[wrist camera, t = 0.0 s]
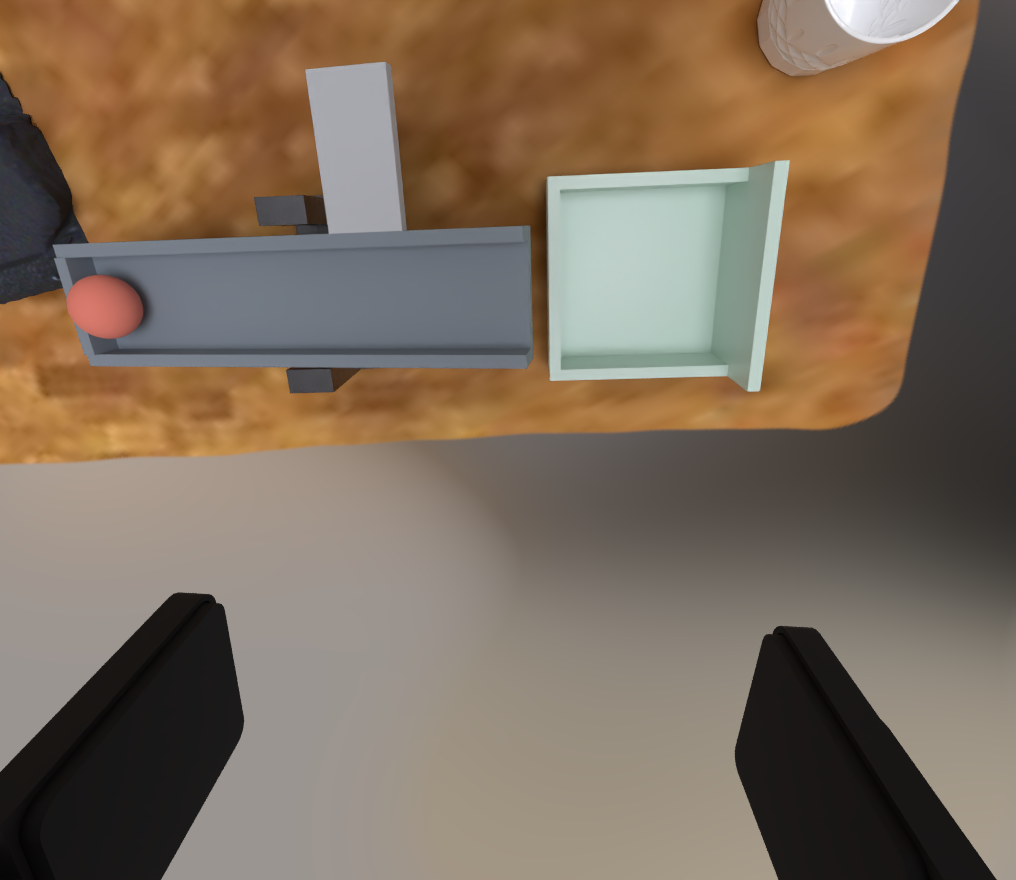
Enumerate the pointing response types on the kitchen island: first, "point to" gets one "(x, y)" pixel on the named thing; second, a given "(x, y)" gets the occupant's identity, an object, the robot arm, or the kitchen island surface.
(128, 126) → the kitchen island surface
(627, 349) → the bin
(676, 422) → the kitchen island surface
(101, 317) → the ball
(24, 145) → the folded navy shirt
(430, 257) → the lever
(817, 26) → the white cup
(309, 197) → the lever stand
